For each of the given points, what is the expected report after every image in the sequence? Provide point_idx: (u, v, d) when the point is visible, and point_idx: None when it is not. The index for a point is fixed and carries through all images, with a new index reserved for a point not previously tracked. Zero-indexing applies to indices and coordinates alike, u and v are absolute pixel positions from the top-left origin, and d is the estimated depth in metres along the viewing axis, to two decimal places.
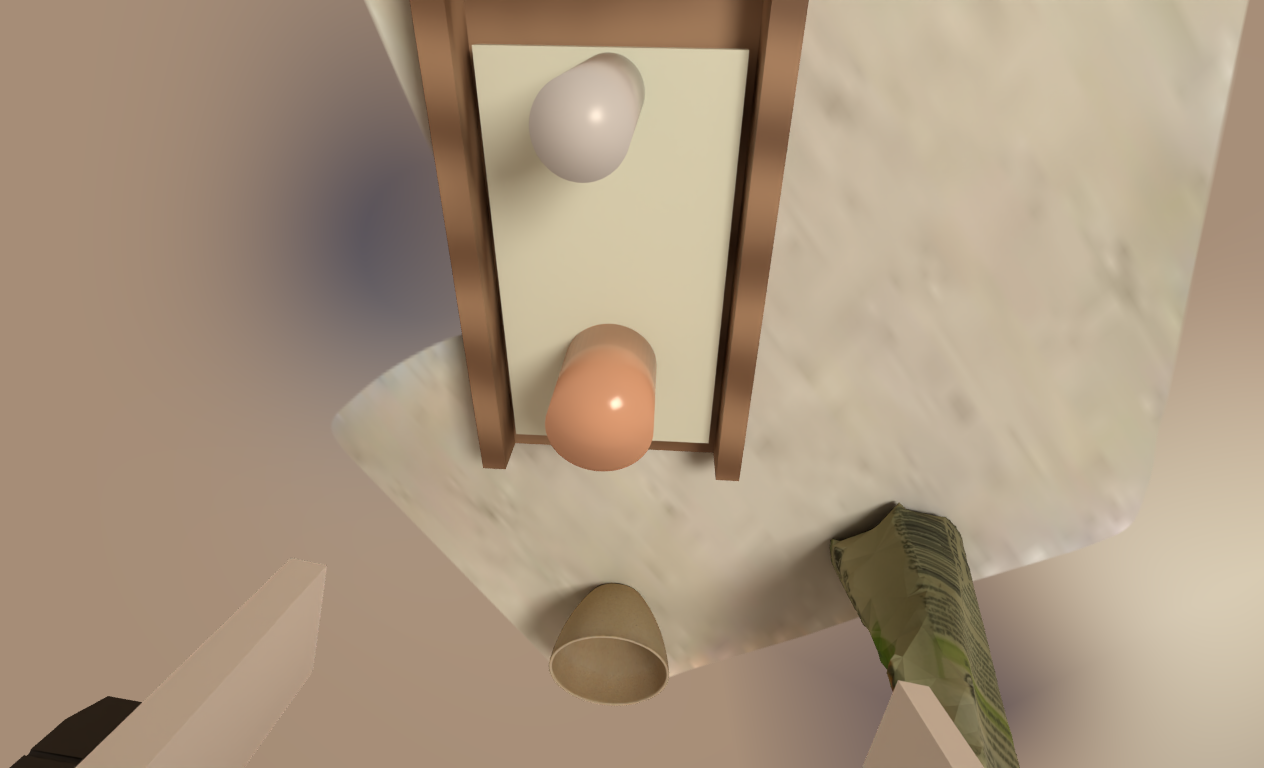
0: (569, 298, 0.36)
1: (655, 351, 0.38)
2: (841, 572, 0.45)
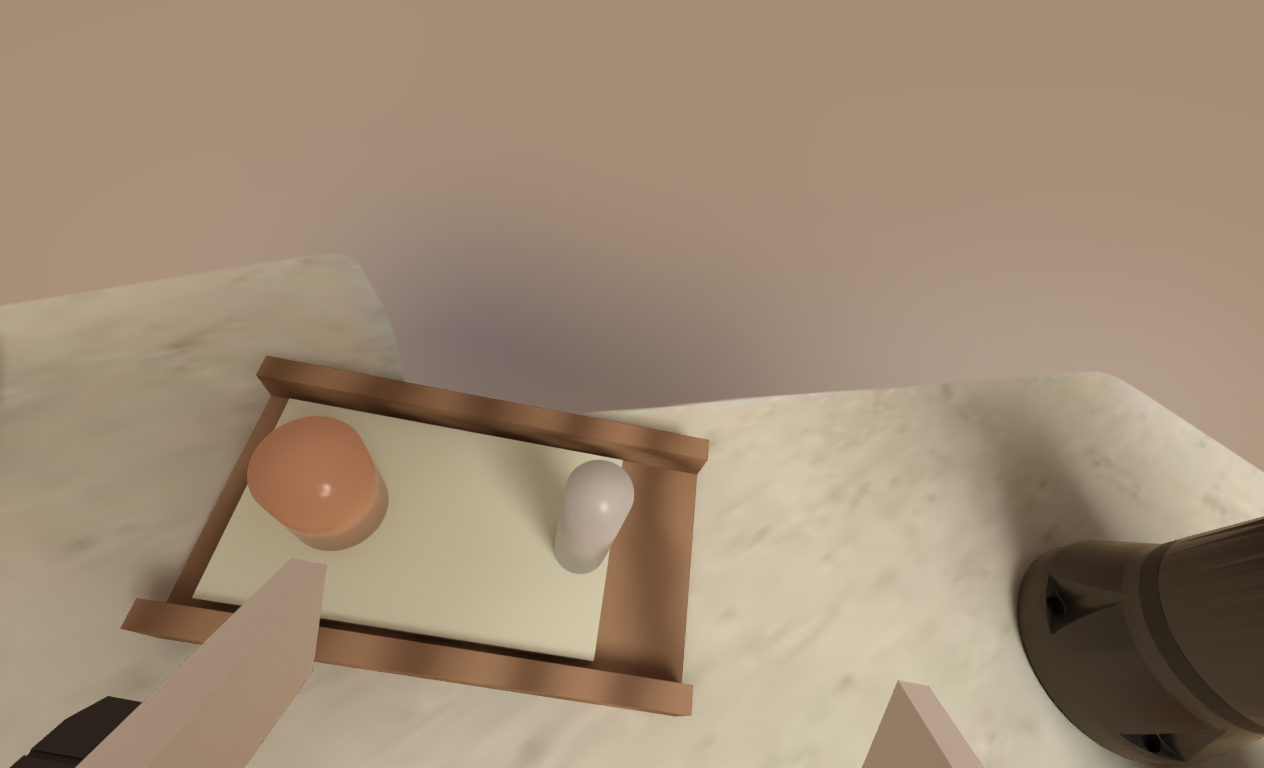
0: (422, 481, 0.40)
1: (341, 551, 0.37)
2: None
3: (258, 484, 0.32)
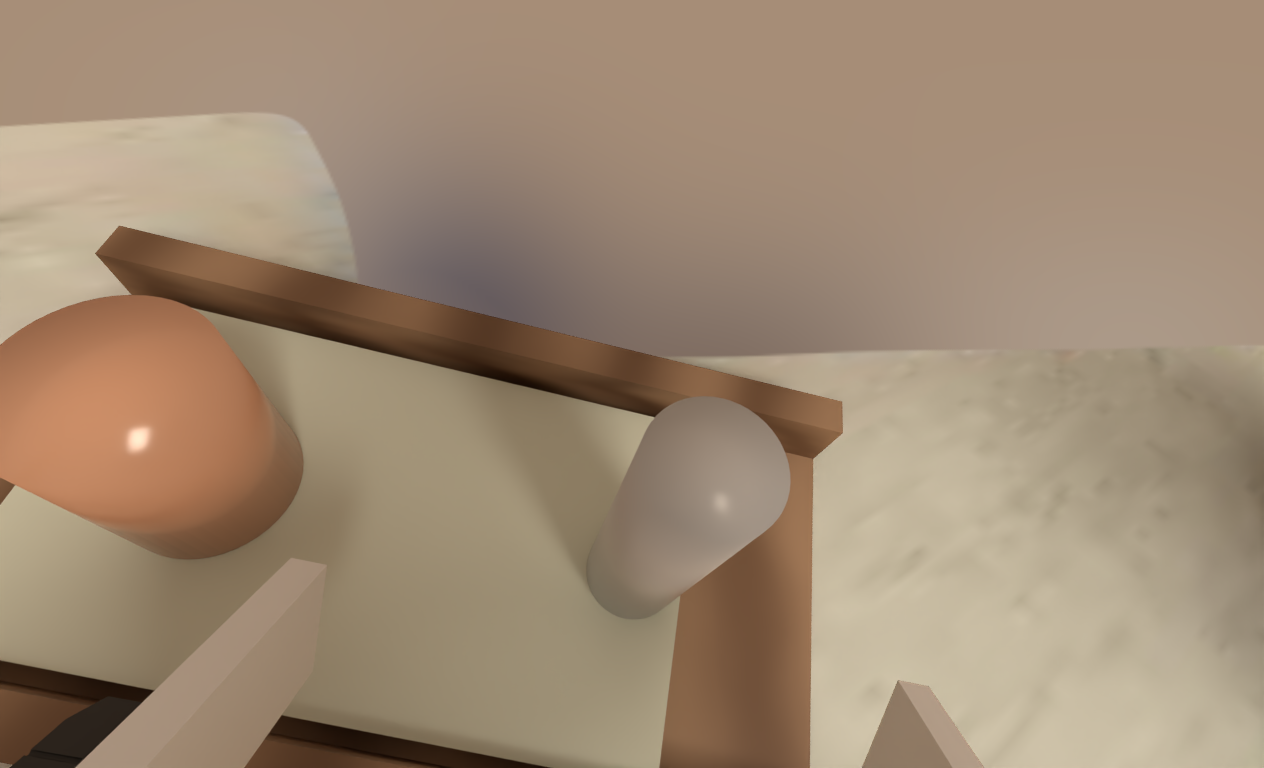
0: (366, 446, 0.24)
1: (206, 561, 0.21)
2: None
3: None
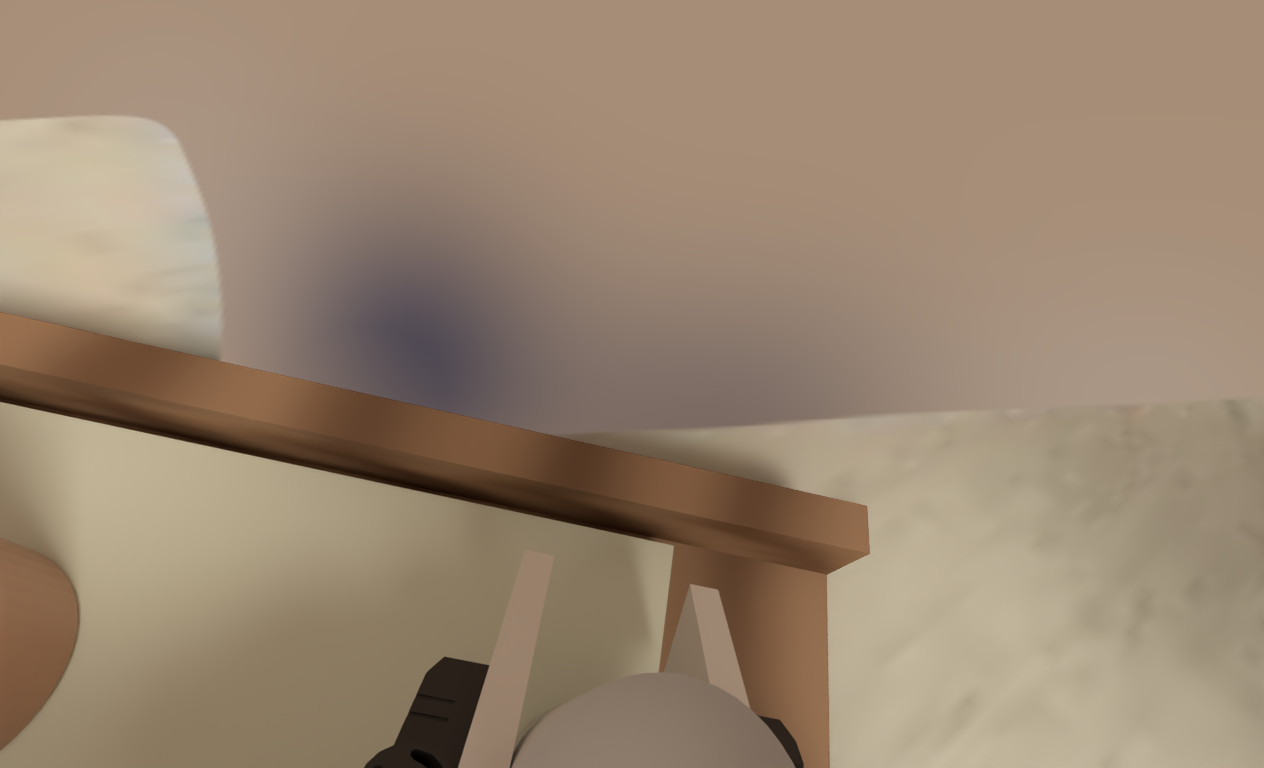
0: (182, 598, 0.16)
1: None
2: None
3: None
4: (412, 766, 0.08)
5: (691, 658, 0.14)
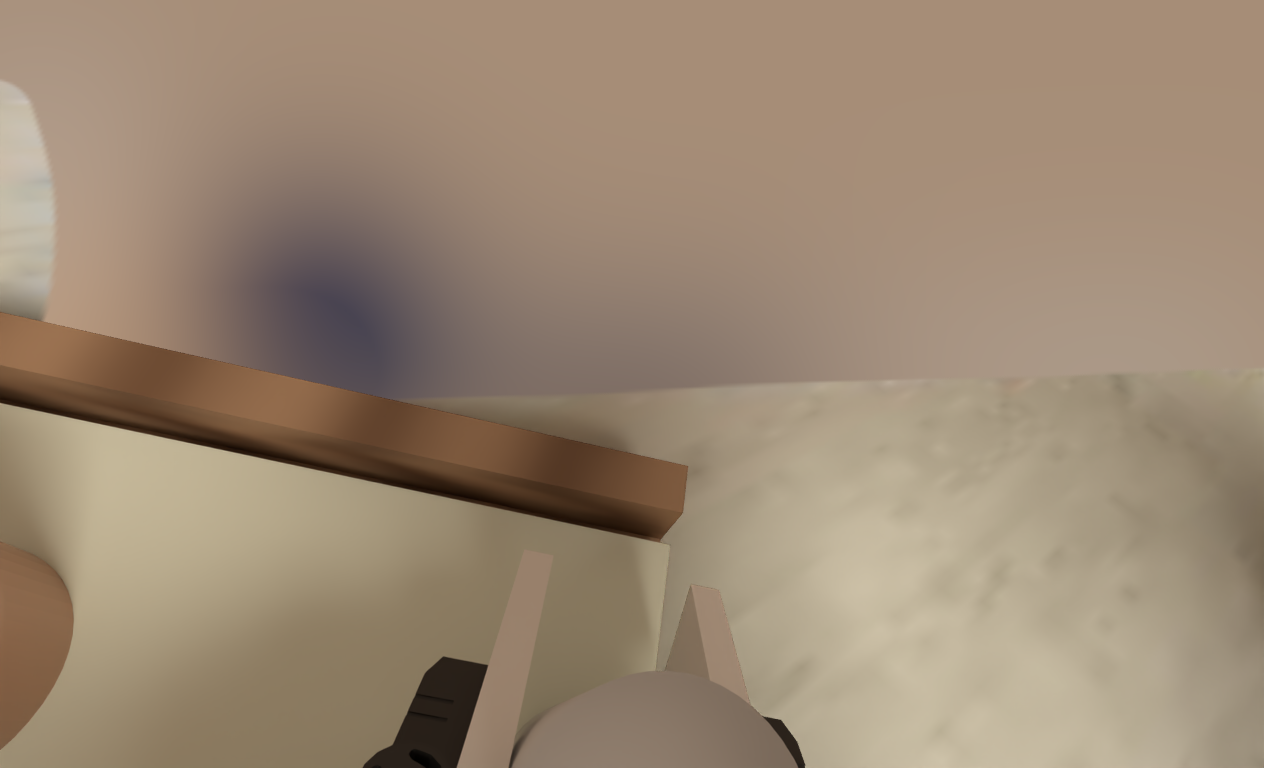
0: (175, 599, 0.16)
1: None
2: None
3: None
4: (411, 766, 0.08)
5: (692, 658, 0.14)
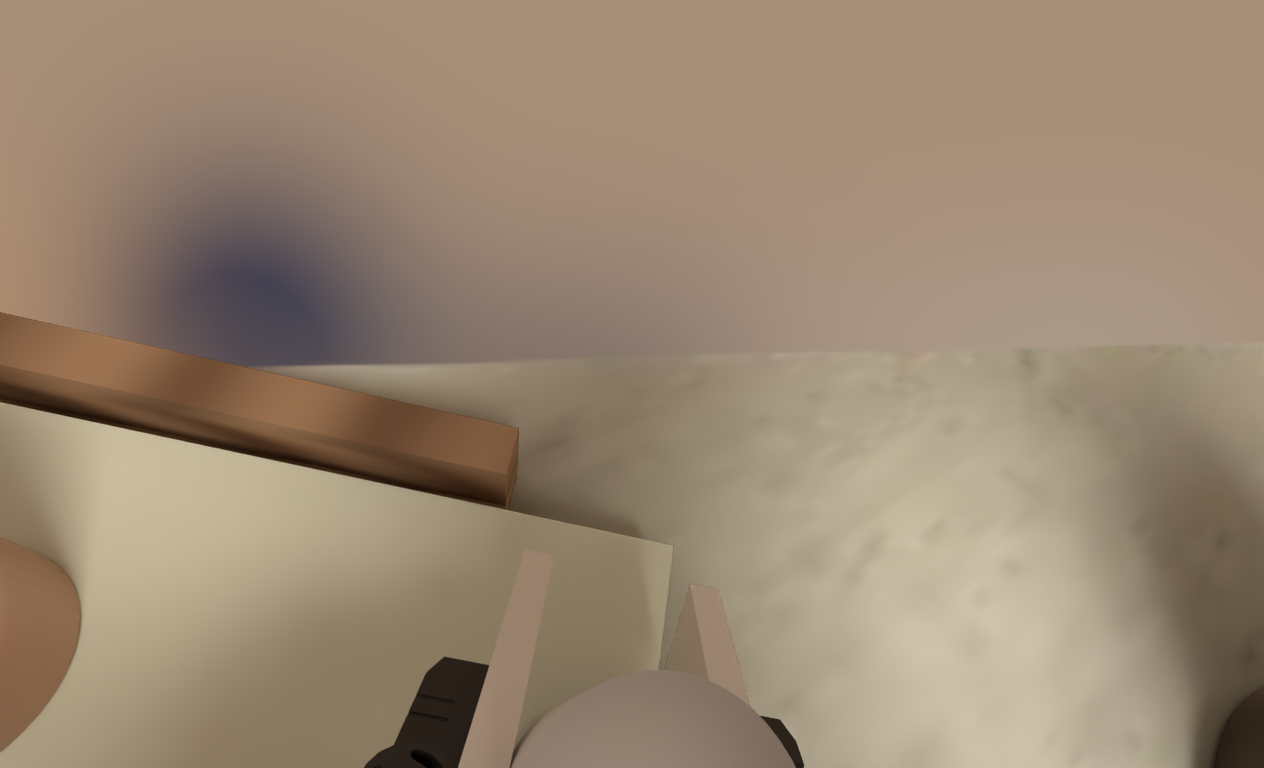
0: (182, 598, 0.16)
1: None
2: None
3: None
4: (412, 766, 0.08)
5: (691, 658, 0.14)
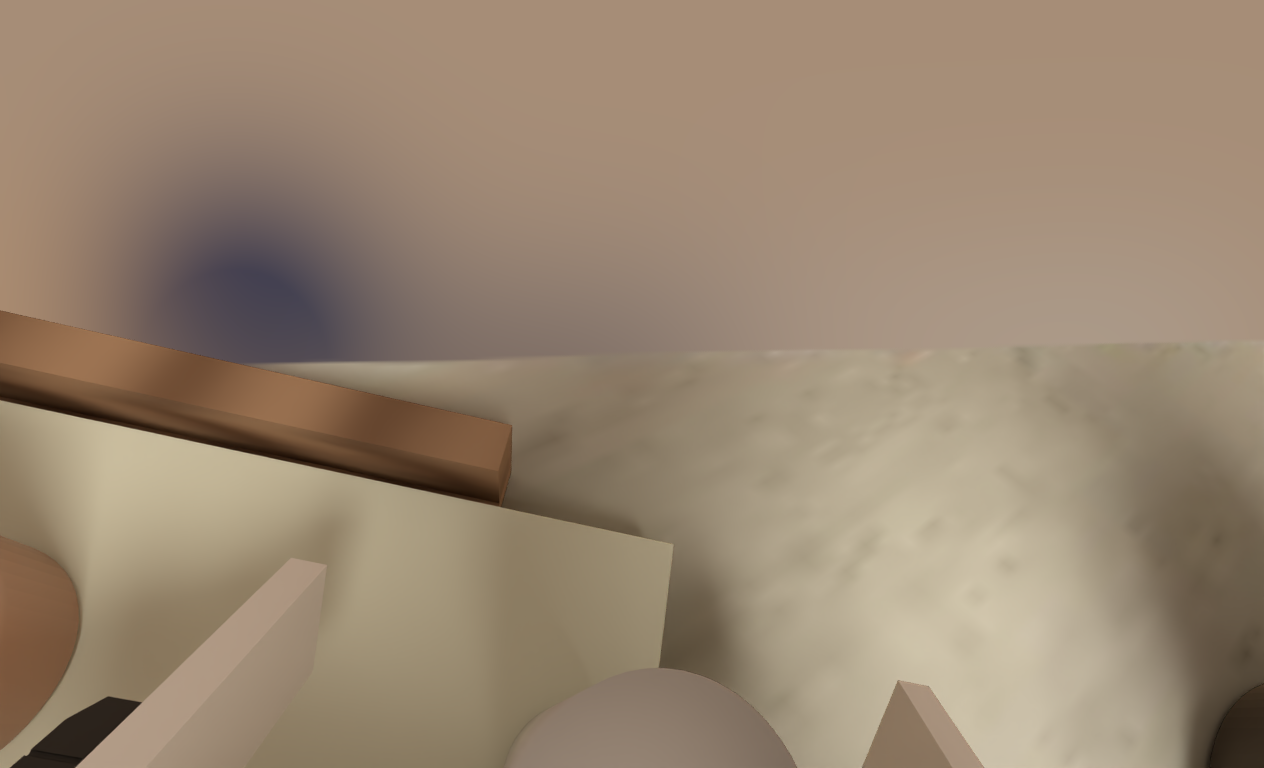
0: (182, 596, 0.16)
1: None
2: None
3: None
4: None
5: None
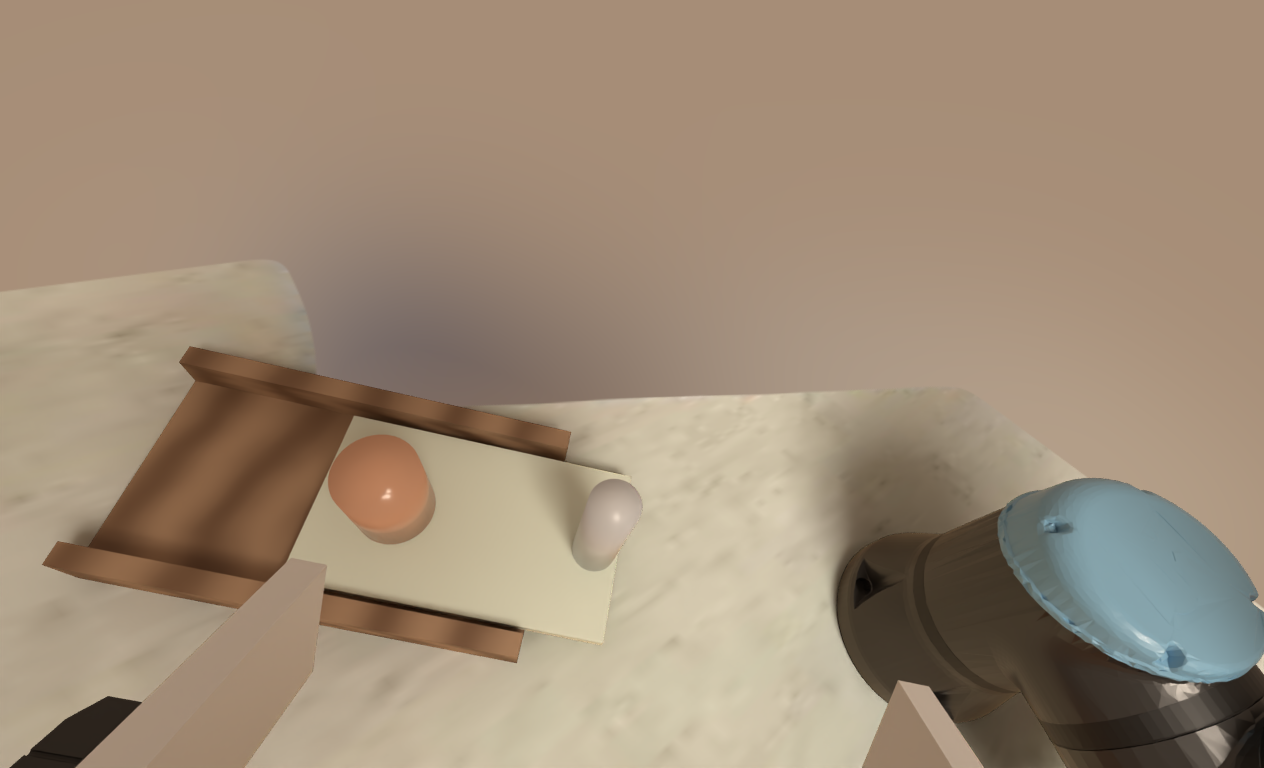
0: (464, 489, 0.48)
1: (398, 545, 0.45)
2: None
3: (344, 501, 0.39)
4: None
5: None
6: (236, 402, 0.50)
